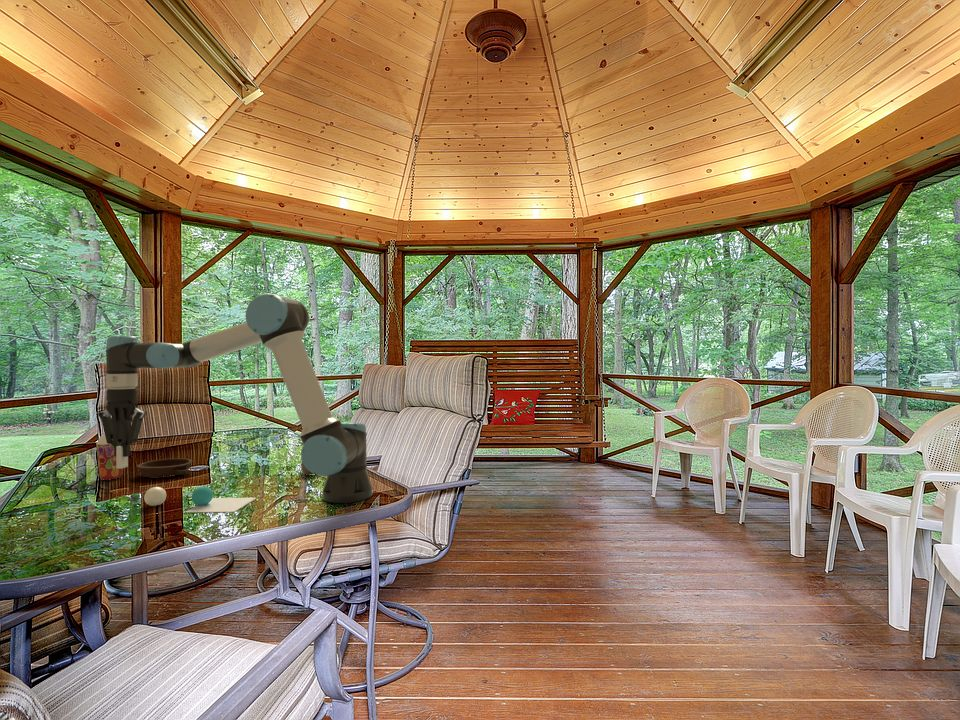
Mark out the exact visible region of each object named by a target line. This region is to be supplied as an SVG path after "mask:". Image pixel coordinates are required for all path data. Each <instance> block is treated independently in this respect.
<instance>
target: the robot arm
mask: <svg viewBox="0 0 960 720" xmlns="http://www.w3.org/2000/svg"><path fill="white" fill-rule="evenodd" d="M309 322H310V315H309V312H308V308H307V307H306V306H305V305H304V303H302V302H301V301H299V300H297V299H294V298H290V297H286V296H281V295H280V294H277V293H269V292H268V293H262V294H259V295H256V296H255V297H254V298H252V300H251V301H250V302H249V303H248V305H247V308H246V309H245V322H243V323H240V324H238V325H237V324H236V325H233V326H231V327H230V326H229V327H228V328H224V329H221V330H219V331H216V332H213V333H210V334H207V335H204V336H200V337H198V338H194V339H192V340H190V341H189V340H188V341H186V342H183V343H169V342H161V341H159V342H138V338H137V337H136V336H133V335H132V336H128V335H127V336H126V335H112V336H111V335H110V336H109V337H107V339H106V344H105V345H106V346H105V347H106V348H105V356H106V357H105V358H106V359H105V361H106V387H107V388H108V389H107V390H106V393H105V395H106V396H105V397H106V400H105V401H106V402H107V405H106V407H105V408H106V409H104V410H102V411H98V412H97V415H98V417H99V418H100V420H101V423H102V425H101V426H102V428H103V432H104V433H103V434H105V437H106V441H107V443H108V444H112V445H113V446H114V456H115V457H116V469H122V468H123V469H125V468H128V467H129V456H131V446H132V445H133V444H135V443H137V442H138V440H139V436H140V433H141V427H142V423H143V419H144V418H145V417H146V415H147V412H146V411H145V410H142V409H140V408H139V406H138V404H137V401H138V395H139V394H138V391H139V390H138V388H136V387H138V386H139V385H138V381H139V380H138V379H139V378H138V376H139V375H138V370H139V369H159V370H161V369H162V370H163V369H170V368H171V369H172V368H173V369H175V368H177V369H179V368H180V369H182V368H183V369H185V368H186V369H189V368H194V367H199V366H200V365H201V364H202V363H203V362H205V361H206V362H207V361H209V360H213V359H215V358H219V357H222V356H224V355H228V354H230V353H233V352H237V351H239V350H243V349H247V348H249V347H250V348H251V347H252V346H255V345H258V344H261V343H262V345H263V347H264V348H266V349H268V350H270V351H271V352H272V355H273V356H274V359H275V362H276V365H277V366H278V370H279V372H280V374H281V377H282V379H283V382H284V384H285V386H286V389H287V392H288V394H289V397H290V399H291V402H292V405H293V407H294V410H295V412H296V414H297V417H298V419H299V422H300V425H301V426H302V427H301V428H302V430H301V432H300V434H299V438H300V441H301V442H302V448H301V451H300V457H301V462H303V464H304V466H305V467H306V468H307V469H308V470H309V471H310V472H311V473H313V474H316V475H315V476H319V477H326V479H325V482H324V486H323V488H322V492H321V493H322V494H321V495H322V500H323V501H324V502H327V503H333V504H335V503H336V504H348V503H355V502H356V503H357V502H360V501H365V500H368V499H369V498H371V497H372V496H373V486H372V483H371V479H370V476H369V473H368V470H367V435H368V433H367V427H366V424H364V423H361V422H360V423H359V422H357V423H355V422H353V423H351V422H350V423H349V422H348V423H347V422H346V423H345V422H343V423H342V422H341V419H339V418H337V417H335V416H333V414H332V413H331V409H330V407H329V404H328V401H327V399H326V397H325V395H324V392H323V390H322V388H321V385H320V382H319V379H318V377H317V375H316V372H315V370H314V368H313V365H312V362H311V360H310V358H309V355H308V353H307V350H306V348H305V345H304V343H303V338H304V335H305V330H306V329H307V327H308V325H309Z"/></svg>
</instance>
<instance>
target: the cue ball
mask: <svg viewBox="0 0 960 720" xmlns="http://www.w3.org/2000/svg"><path fill="white" fill-rule="evenodd" d="M166 499H167V492H166V490H165V488H162V487H161V486H153V487H151V488H148V490H147V491H146V492H145V493H144V497H143V500H144V502H145V503H146V504H147V505H149V506H151V507H157V505H158V506H160V505H162V504H163V503H164V502H165V501H166Z"/></svg>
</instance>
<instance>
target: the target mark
mask: <svg viewBox="0 0 960 720" xmlns="http://www.w3.org/2000/svg"><path fill="white" fill-rule="evenodd" d="M256 499H258V497H213V498H212V500H211V501H210V502H209V503H208V504H206V505H202V506H199V505H195V506H194V507H191V508H190V509H188V510H186V511H184V513H187V514H188V513H191V514H192V513H197V514H198V513H201V514H202V513H235V512H237V511H239V510H240V509H242V508H243V507H245V506H247V505H249V504H250V503H251V502H253V501H255V500H256Z"/></svg>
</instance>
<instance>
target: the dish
mask: <svg viewBox="0 0 960 720" xmlns="http://www.w3.org/2000/svg"><path fill="white" fill-rule="evenodd" d="M191 463H193V459H191V458H190V459H189V458H181V457H180V458H179V457H178V458H177V457H176V458H162V459H154V460H149V461H145V462H142V463H140V464H139V463H138V464H137V465H136V468H137V469H138V471H139V473H140V475H141V476H142V477H143V478H144V477H151V478H152V477H163V476H169V475H179V476H181V475H182V476H185V475H187V474H188V473H189V470H190V466H191ZM184 474H185V475H184Z"/></svg>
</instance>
